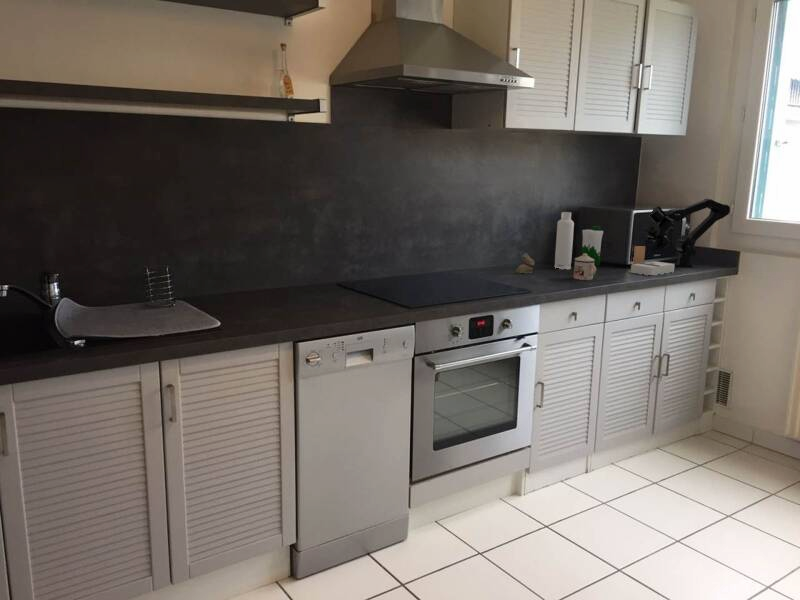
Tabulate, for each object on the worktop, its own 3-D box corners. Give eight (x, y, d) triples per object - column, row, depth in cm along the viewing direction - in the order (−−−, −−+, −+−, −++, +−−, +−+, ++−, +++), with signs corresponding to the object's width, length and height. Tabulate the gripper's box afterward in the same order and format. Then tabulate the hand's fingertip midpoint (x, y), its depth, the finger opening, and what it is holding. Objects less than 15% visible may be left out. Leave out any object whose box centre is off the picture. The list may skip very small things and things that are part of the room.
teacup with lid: (568, 277, 302) (570, 252, 300) (583, 276, 306) (585, 251, 304) (586, 282, 292) (588, 256, 289) (602, 280, 296) (604, 255, 293)
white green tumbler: (602, 265, 338) (605, 227, 334) (587, 266, 335) (590, 227, 331) (592, 263, 346) (595, 225, 342) (577, 263, 344) (580, 225, 339)
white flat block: (653, 268, 330) (654, 260, 329) (673, 272, 322) (674, 263, 321) (630, 272, 318) (631, 263, 317) (650, 276, 310) (651, 266, 309)
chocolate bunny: (530, 275, 307) (531, 254, 305) (514, 273, 312) (515, 252, 310) (534, 273, 312) (535, 252, 310) (519, 271, 316) (520, 251, 314)
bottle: (573, 269, 325) (577, 213, 319) (558, 269, 324) (562, 213, 318) (566, 266, 333) (570, 211, 327) (551, 267, 331) (555, 211, 325)
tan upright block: (640, 266, 336) (642, 245, 334) (643, 267, 334) (645, 246, 332) (630, 267, 334) (632, 246, 331) (634, 268, 332) (636, 246, 329)
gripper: (640, 216, 340) (622, 238, 338) (667, 219, 323) (648, 243, 321) (651, 231, 344) (633, 252, 343) (678, 235, 328) (659, 257, 326)
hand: (643, 251), depth 333 cm, fingers open, 9 cm apart
